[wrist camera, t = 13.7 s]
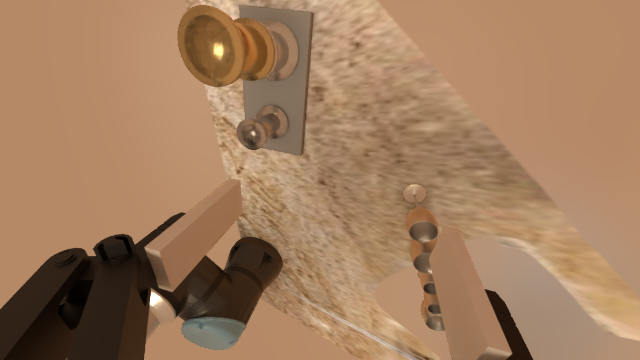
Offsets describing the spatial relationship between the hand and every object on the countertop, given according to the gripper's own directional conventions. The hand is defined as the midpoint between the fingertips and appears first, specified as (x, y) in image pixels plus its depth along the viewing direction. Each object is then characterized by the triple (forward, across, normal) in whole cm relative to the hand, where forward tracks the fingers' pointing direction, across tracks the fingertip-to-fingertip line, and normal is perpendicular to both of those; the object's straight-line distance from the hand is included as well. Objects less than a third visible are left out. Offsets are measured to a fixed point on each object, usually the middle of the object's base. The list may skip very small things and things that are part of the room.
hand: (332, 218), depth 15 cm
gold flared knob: (+22, +17, -8) cm, 29 cm away
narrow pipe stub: (+30, +17, +4) cm, 35 cm away
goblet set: (+32, -18, +25) cm, 44 cm away
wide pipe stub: (+30, +17, -8) cm, 36 cm away
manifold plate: (+32, +17, -2) cm, 36 cm away
